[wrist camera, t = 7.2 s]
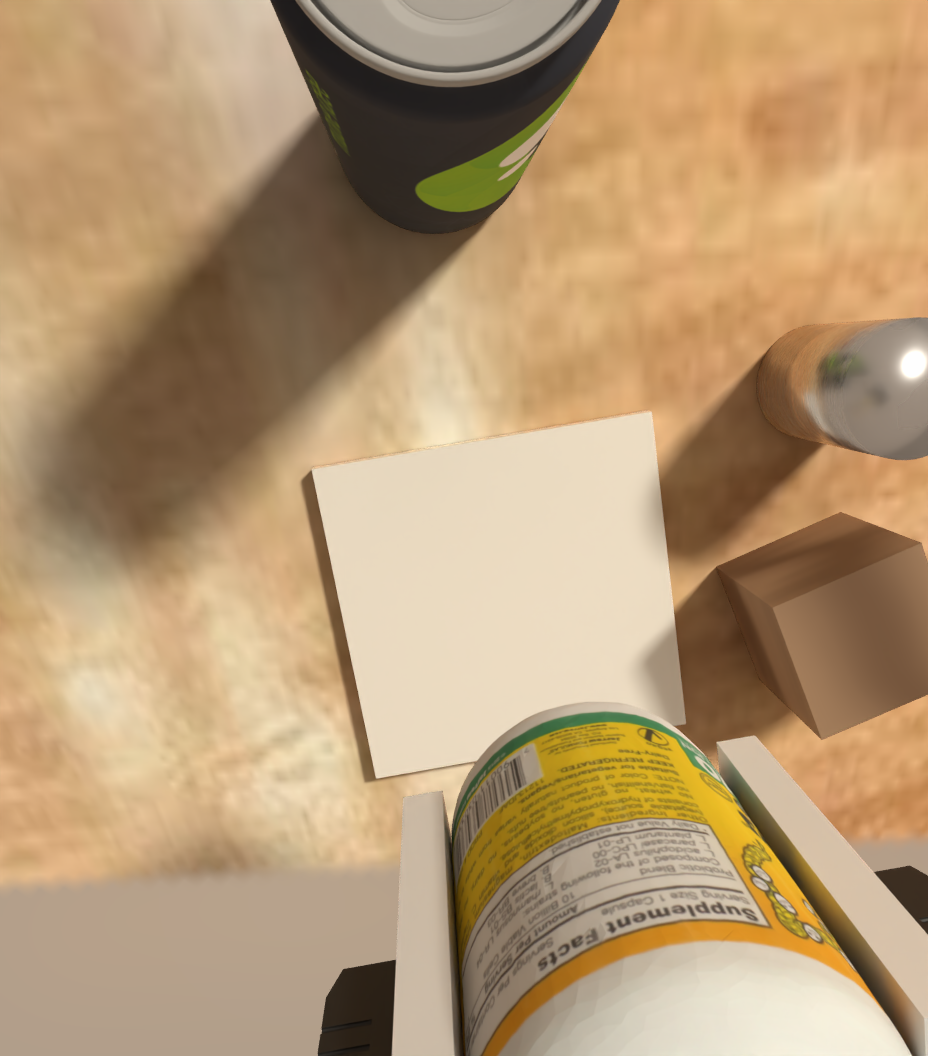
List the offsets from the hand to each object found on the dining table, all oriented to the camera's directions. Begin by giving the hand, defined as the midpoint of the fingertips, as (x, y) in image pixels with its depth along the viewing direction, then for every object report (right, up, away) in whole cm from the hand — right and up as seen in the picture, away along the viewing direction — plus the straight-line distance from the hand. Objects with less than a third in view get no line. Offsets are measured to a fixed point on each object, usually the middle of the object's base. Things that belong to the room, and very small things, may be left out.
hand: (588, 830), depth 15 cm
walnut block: (+10, +3, +15) cm, 18 cm away
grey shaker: (+10, +11, +13) cm, 20 cm away
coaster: (-1, +3, +14) cm, 15 cm away
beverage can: (-3, +19, +11) cm, 22 cm away
